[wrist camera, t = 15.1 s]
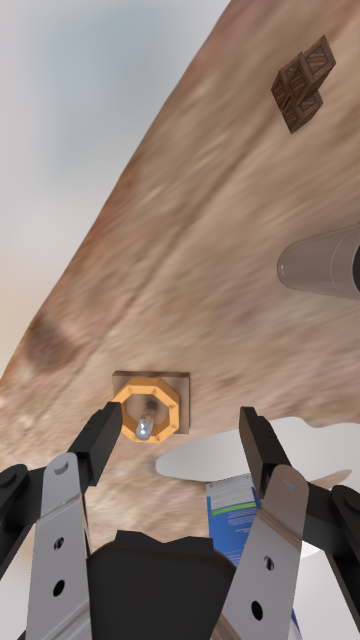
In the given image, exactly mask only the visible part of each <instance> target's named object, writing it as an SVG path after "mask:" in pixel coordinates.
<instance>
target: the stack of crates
mask: <svg viewBox="0 0 360 640" xmlns="http://www.w3.org/2000/svg"><path fill="white" fill-rule="evenodd" d="M335 64H336V61H335V59H334V56H333V54H332V52H331V49H330V47H329V44H328V42H327V40H326V37H325V35H323V36H322V37H321V38H320V39H319V40H318V41H317V42H315V43H314V44H313V45H312V46H311V47H310V48H309V49H308V50H307V51H305V52H304V53H302V52H301V53H299V54H298V55H297V56H296V57H295V58H293V59H292V60H291V61H290V62H289V63H288V64H286V65H285V66H284V67H283V68H282V69H281V70H279V72H278V75H277V77H276V79H275V82H274V84H273V86H272V89H271V91H272V93H273V96H274V98H275V100H276V102H277V104H278V107H279V109H280V111H282V110H283V109H284V110H283V112H282V115H283V117H284V119H285V122H286V124H287V126H288V128H289V131H290V133H291V134H292V133H293V132H295V131H296V130H297V129H299V128H300V127H301V126H302V125H304V124H305V123H306V122H308V121H309V120H310V119H311V118H312V117H313V116H314V114H315V113H316V112H317V111H318V109H319V108H320V107H321V105H322V104H323V101H322V99H321V96H320V94H319V91H318V89H319V87H320V86H321V85H322V83H323V82H324V80H325V79H326V77H327V76H328V74H329V73H330V71H331V70H332V69H333V67H334V66H335Z"/></svg>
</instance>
